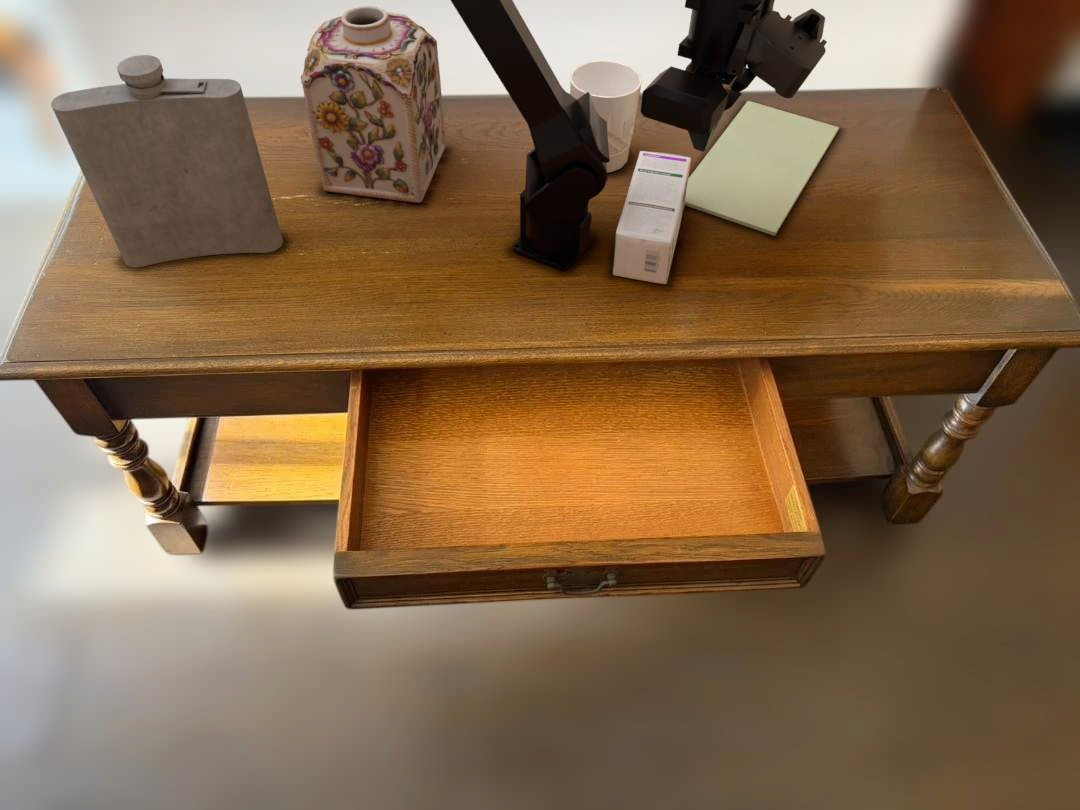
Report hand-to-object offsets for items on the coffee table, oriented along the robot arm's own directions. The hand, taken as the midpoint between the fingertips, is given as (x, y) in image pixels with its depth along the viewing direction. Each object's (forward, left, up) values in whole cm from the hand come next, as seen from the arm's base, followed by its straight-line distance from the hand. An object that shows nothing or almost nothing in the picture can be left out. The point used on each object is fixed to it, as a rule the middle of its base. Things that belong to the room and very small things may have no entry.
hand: (700, 148), depth 79 cm
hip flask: (-43, -26, -12) cm, 51 cm away
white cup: (-15, +10, -12) cm, 22 cm away
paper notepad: (+2, +19, -12) cm, 23 cm away
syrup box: (-2, -7, -9) cm, 12 cm away
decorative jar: (-35, -5, -12) cm, 37 cm away
